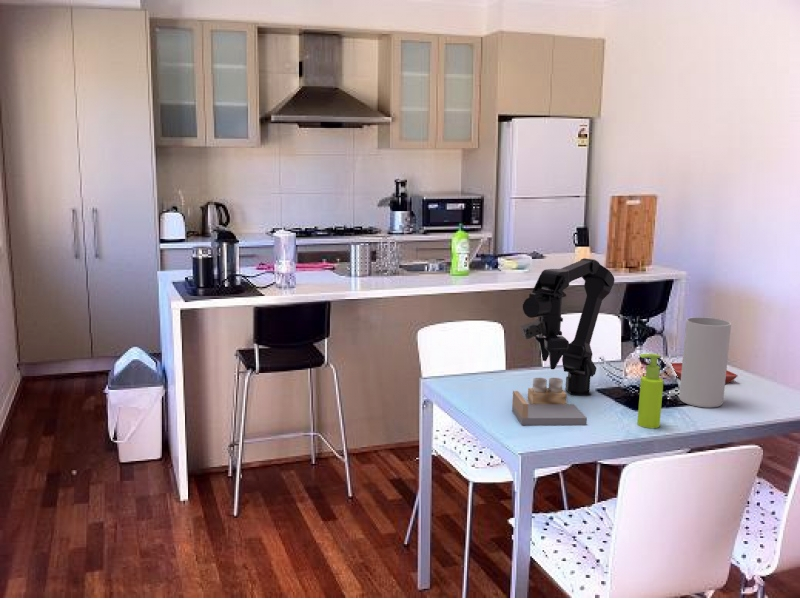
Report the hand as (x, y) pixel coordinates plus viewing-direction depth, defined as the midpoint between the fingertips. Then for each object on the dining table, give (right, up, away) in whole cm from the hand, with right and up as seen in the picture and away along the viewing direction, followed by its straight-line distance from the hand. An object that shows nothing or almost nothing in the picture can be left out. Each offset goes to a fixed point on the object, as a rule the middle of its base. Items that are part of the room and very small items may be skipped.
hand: (548, 365), depth 229 cm
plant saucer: (+57, -8, +34) cm, 67 cm away
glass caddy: (0, -12, +2) cm, 12 cm away
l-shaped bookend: (-2, -14, -11) cm, 18 cm away
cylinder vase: (+48, -12, +7) cm, 50 cm away
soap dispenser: (+24, -15, -15) cm, 32 cm away
